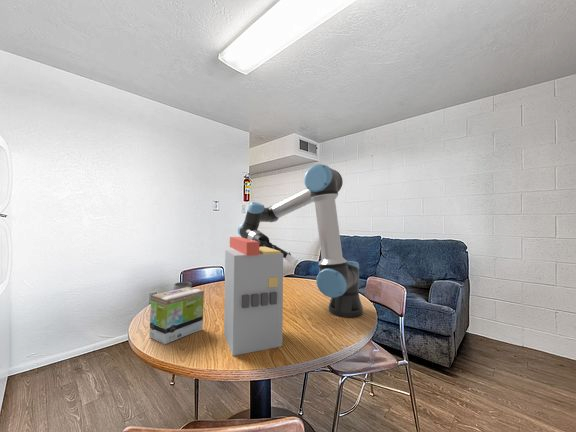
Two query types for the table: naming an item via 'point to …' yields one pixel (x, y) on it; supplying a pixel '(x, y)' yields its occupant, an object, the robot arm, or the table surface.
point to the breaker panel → (253, 301)
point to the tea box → (176, 314)
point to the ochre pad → (268, 250)
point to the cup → (182, 285)
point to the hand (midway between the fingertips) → (285, 259)
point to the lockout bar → (244, 245)
